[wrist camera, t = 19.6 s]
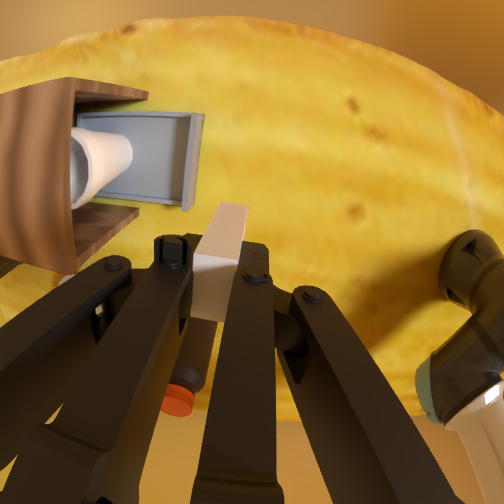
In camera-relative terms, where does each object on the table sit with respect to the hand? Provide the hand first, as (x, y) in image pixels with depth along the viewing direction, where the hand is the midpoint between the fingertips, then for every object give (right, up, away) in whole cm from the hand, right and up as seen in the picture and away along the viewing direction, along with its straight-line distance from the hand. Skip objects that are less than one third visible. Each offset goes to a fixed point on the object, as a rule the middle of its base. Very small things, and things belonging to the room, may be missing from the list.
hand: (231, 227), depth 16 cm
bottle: (-8, -12, +33) cm, 36 cm away
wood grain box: (-22, +14, +21) cm, 33 cm away
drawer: (-16, +13, +21) cm, 30 cm away
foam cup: (-19, +13, +21) cm, 31 cm away
